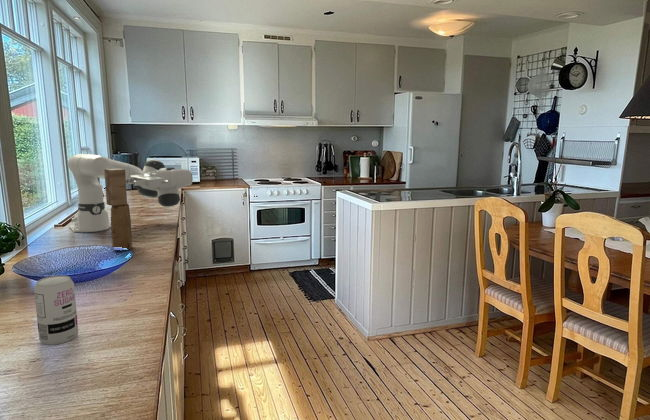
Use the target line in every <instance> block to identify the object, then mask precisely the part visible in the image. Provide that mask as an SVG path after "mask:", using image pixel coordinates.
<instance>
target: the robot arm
mask: <svg viewBox="0 0 650 420" xmlns="http://www.w3.org/2000/svg"><path fill="white" fill-rule="evenodd" d="M143 166H144V167H143V168H142V169H141V168H140V167H138V166H136V165H133V164H130V163H126V162H124V161H123V162H122V161H118V160H115V159H111V158H109V157H106V156H102V155H99V154H91V153H90V154H88V153H78V154H73V155H72V156H70V157H69V158H68V160H67V167H68V169H69V170H70V172H71V173H72V176H73V179H74V181H75V183H76V186H77V192H78V196H77V197H78V204H77V210H78V211H77V212H76V213H75V214H74V216H73V217H72V218H71V222H72V223H74V224H70V225H69V228H70V229H71V231H72V232H73V233H93V232H103V231H106V230H108V229H111V223H110V219H109V218H110V217H109V213H108V211H107V210H106V203H105V201H104V190H103V186H102V185H101V183H100V182H99V180H98V178H99V179H103V180H105V173H104V169H125V176H126V185H127V184H131V185H133V186H136V187H135V189H137V192H138V193H139V194H140V195H141V196H142V197H143V198H147V199H155V198H157V200H158V201H157V202H158V204H159V205H161V206H162V207H167V208H170V207H174V206H177V205H178V204H179V202H180V201H181V197H180V191H179V188H185V187H188V186H192V184H193V180H194V179H193V174H192V171H191V170H190V169H183V168H175V167H173V166H172V167H166V166H165V164H164V163H163V162H162V161H160V160H159V159H157V158H155V159H154V158H151V159H147V160H146V161H145V162H144V165H143Z"/></svg>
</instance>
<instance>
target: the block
mask: <svg viewBox="0 0 650 420" xmlns="http://www.w3.org/2000/svg"><path fill="white" fill-rule="evenodd" d="M131 219H132V218H131V212H130V205H129V203H128V202H127V205H118V206H111V208H110V224H111V227H110V232H111V245H112V248H113V247H122V248H127V249H130V250H132V248H133V237H132V234H133V233H132V220H131Z"/></svg>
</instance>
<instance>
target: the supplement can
mask: <svg viewBox="0 0 650 420" xmlns="http://www.w3.org/2000/svg"><path fill="white" fill-rule="evenodd" d="M33 291H34V300H35V301H34V304H35V311H36V321H37V329H38V330H37V331H38V339H39V340H38V341H39V342H41V343H42V344H44V345H45V346H46V345H47V346H55V345H61V344H64V343H68V342H70V341H72V340H73V339H75V337H76V336H78V334H79V326H78V325H79V324H78V313H77V303H76V302H77V301H76V289H75V283H74V281H73V279H71V276H68V275H52V276H51V275H50V276H47V277H43V278H41V279H38V280H37V281H36V284H35V286H34V288H33Z"/></svg>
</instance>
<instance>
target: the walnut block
mask: <svg viewBox="0 0 650 420" xmlns="http://www.w3.org/2000/svg"><path fill="white" fill-rule="evenodd" d="M104 173H105V179H104V184H105V197H106V198H105V200H106V205H107V206H111V207H112V206H118V205H127V203H128V196H127V183H126V176H125V169H104Z"/></svg>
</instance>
